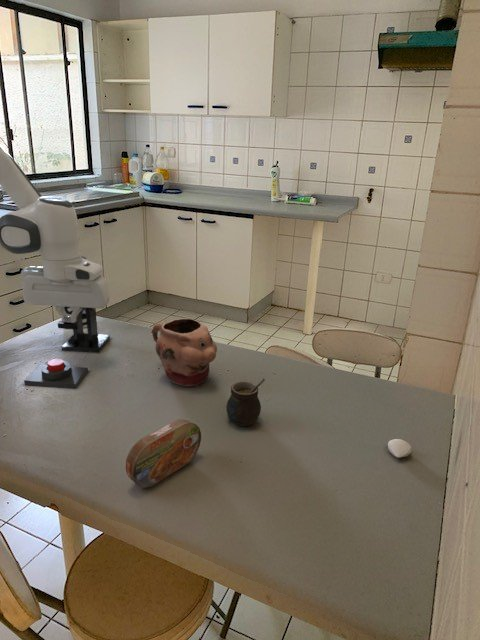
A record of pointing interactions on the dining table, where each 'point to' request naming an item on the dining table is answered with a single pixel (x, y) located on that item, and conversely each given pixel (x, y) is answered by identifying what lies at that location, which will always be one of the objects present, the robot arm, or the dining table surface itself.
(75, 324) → the toast lever
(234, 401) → the mate gourd
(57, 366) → the button
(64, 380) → the button housing
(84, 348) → the lever bracket
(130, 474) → the tin
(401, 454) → the white pebble
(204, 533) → the dining table surface
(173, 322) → the character head mug
